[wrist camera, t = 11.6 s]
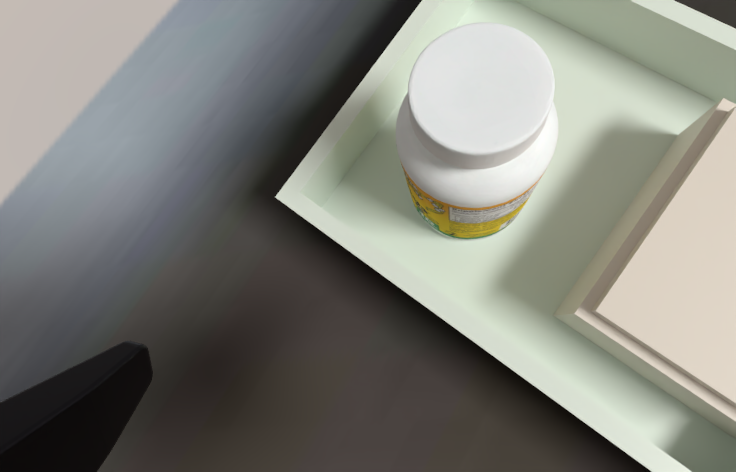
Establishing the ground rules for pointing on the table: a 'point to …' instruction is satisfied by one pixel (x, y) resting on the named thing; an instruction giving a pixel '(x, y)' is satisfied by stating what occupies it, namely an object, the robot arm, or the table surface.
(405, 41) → the tote
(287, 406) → the table surface
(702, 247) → the beige lidded box
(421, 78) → the supplement bottle
